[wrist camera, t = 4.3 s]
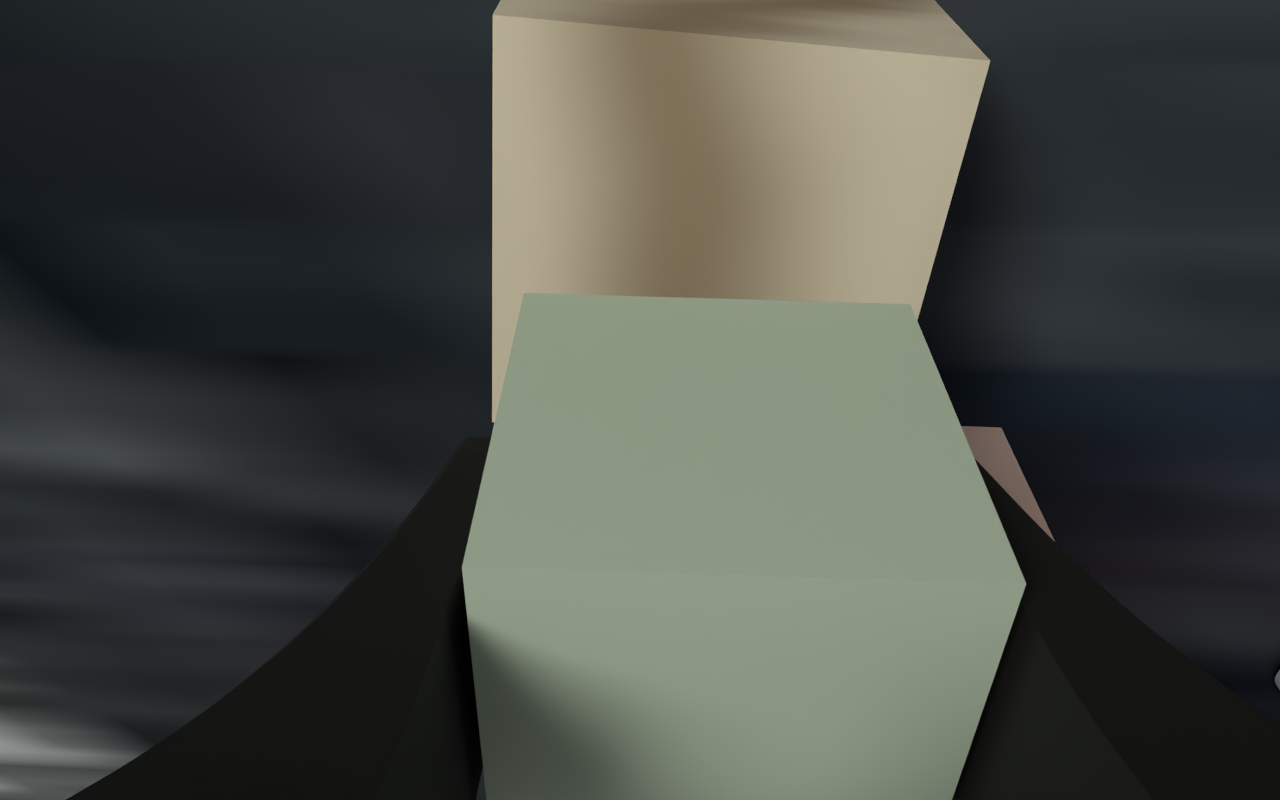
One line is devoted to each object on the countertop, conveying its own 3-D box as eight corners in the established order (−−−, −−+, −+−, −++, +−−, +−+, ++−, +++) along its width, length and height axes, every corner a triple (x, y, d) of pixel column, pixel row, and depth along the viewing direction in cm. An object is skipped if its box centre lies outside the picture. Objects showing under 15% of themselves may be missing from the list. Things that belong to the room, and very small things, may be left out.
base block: (916, -20, 18) (989, 60, 14) (839, 314, 22) (880, 452, 18) (531, -57, 18) (493, 15, 14) (523, 287, 22) (492, 422, 18)
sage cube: (910, 304, 13) (1026, 582, 9) (853, 580, 16) (920, 888, 12) (524, 292, 13) (461, 568, 9) (536, 571, 16) (494, 875, 12)
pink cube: (1000, 425, 24) (1071, 576, 20) (955, 577, 27) (1009, 737, 23) (789, 417, 24) (816, 566, 20) (767, 570, 27) (786, 728, 22)
